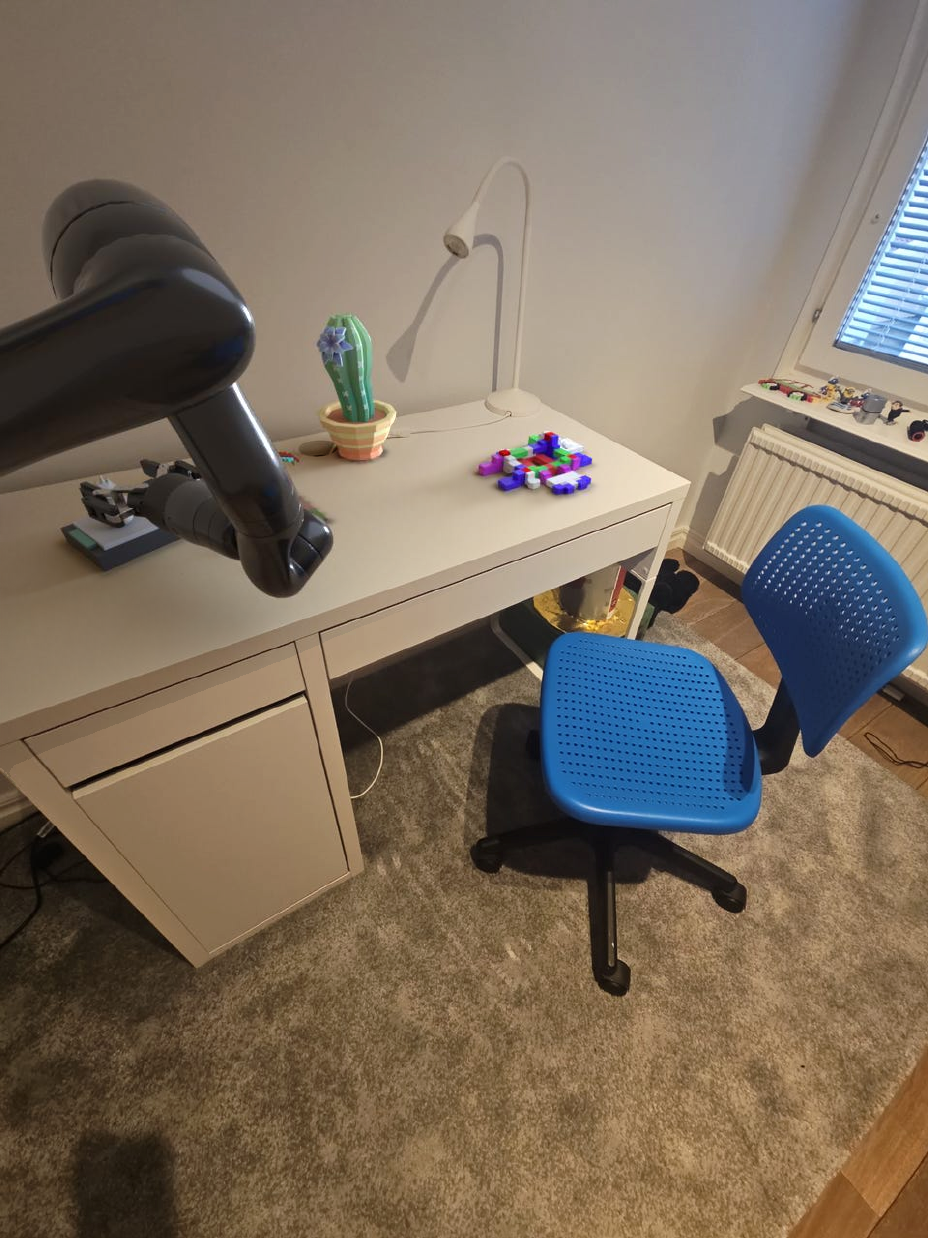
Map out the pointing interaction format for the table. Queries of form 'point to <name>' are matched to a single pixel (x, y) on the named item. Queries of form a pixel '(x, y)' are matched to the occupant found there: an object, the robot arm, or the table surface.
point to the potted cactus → (352, 391)
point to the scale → (115, 540)
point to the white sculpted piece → (110, 485)
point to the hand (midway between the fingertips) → (115, 477)
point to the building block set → (544, 454)
